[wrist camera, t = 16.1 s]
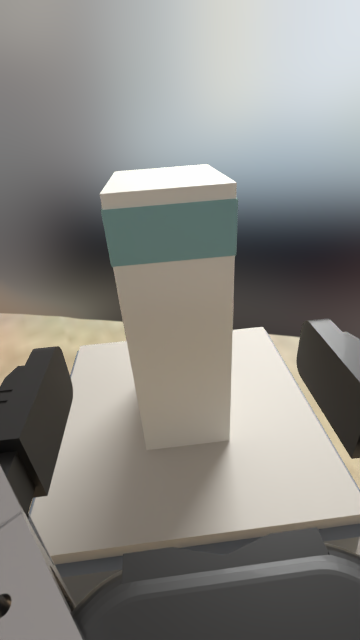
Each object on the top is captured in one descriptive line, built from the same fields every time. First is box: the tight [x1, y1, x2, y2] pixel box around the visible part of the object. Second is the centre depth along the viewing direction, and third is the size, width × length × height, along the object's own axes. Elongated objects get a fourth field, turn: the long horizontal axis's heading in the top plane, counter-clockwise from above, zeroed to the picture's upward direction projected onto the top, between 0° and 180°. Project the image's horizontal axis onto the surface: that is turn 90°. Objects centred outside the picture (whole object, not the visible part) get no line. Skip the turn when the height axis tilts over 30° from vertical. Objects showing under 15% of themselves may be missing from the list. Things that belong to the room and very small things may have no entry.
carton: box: [100, 164, 238, 450], centre depth 16 cm, size 5×6×13 cm
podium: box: [29, 327, 360, 606], centre depth 21 cm, size 16×16×5 cm
